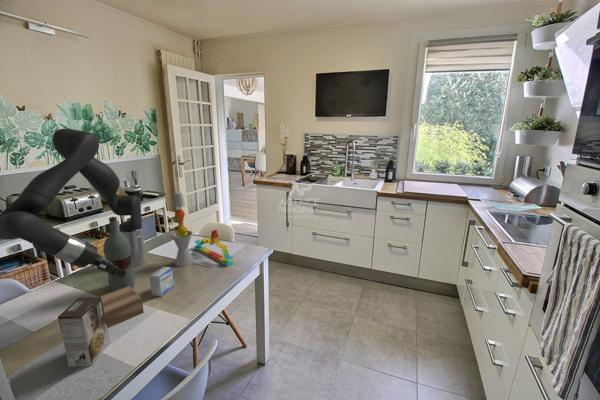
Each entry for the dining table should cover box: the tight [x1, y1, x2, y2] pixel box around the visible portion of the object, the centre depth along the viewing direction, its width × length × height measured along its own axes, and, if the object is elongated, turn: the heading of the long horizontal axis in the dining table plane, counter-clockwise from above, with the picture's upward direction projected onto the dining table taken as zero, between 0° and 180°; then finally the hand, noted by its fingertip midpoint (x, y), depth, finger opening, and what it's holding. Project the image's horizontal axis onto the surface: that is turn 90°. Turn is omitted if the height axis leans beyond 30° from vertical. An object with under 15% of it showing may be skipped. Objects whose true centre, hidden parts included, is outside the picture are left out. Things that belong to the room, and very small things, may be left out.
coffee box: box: [57, 296, 110, 368], centre depth 81 cm, size 9×6×16 cm
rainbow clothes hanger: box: [194, 229, 234, 267], centre depth 145 cm, size 30×3×15 cm, turn 49°
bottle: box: [103, 216, 136, 292], centre depth 114 cm, size 9×9×30 cm
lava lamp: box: [171, 191, 195, 268], centre depth 135 cm, size 9×9×35 cm
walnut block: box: [99, 286, 145, 329], centre depth 101 cm, size 12×12×6 cm
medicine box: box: [149, 266, 175, 297], centre depth 115 cm, size 8×4×9 cm, turn 168°
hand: (119, 270), depth 101 cm, fingers open, 8 cm apart
